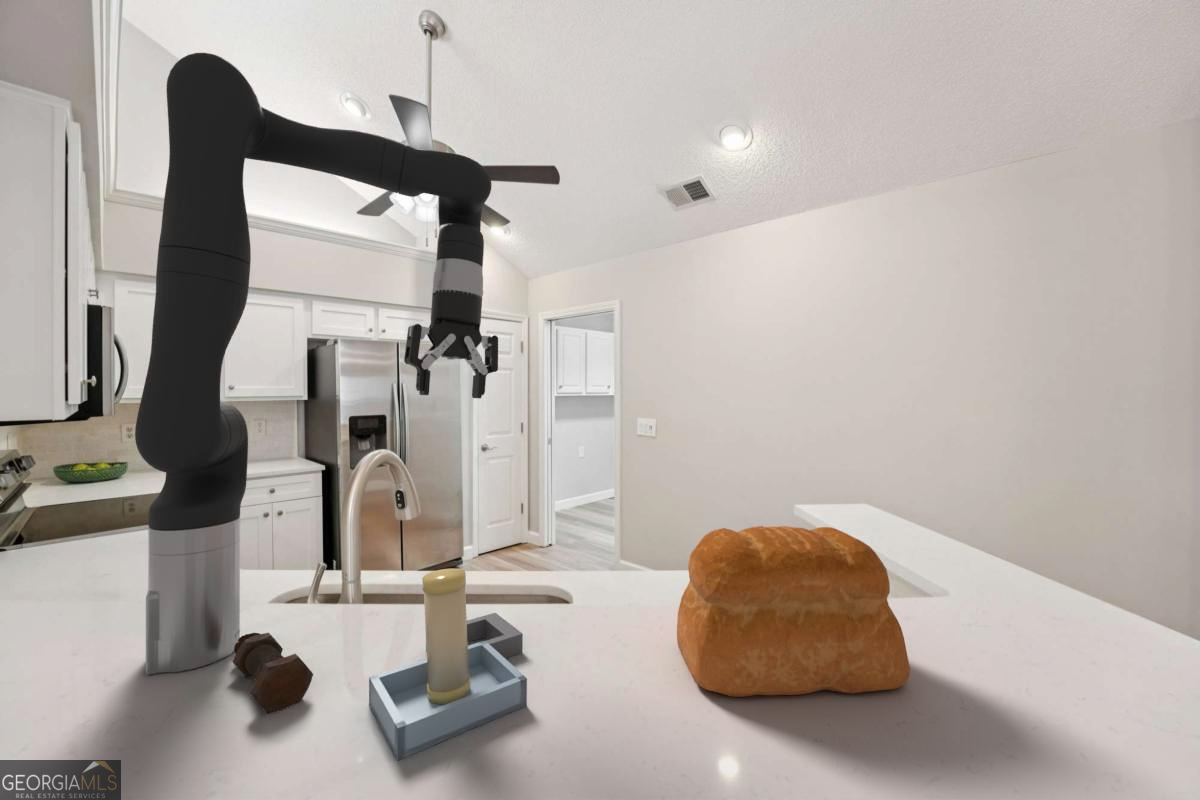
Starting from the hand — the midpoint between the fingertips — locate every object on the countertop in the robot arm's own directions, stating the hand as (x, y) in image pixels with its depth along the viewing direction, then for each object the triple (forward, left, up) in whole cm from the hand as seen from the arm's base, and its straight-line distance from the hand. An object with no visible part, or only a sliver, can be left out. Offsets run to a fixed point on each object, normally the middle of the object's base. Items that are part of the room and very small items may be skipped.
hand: (451, 396), depth 78 cm
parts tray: (-9, -23, -34) cm, 42 cm away
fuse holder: (-2, -14, -34) cm, 36 cm away
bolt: (-24, -5, -34) cm, 42 cm away
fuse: (-8, -22, -33) cm, 40 cm away
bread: (+28, -40, -34) cm, 60 cm away
